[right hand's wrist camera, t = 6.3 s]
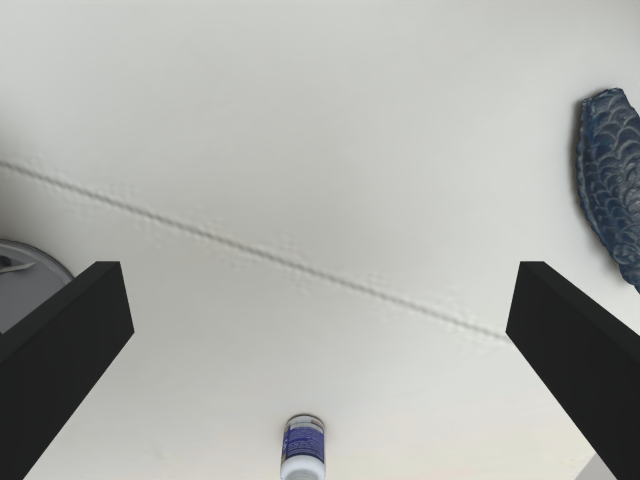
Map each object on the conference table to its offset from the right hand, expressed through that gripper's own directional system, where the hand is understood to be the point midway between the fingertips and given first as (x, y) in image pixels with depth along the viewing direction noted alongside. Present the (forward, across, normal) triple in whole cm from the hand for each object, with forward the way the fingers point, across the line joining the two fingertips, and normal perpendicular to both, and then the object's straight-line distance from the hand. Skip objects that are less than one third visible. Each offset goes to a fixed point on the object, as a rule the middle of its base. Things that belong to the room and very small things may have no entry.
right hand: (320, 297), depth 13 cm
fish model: (+26, -29, +3) cm, 39 cm away
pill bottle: (+26, +2, +34) cm, 43 cm away
